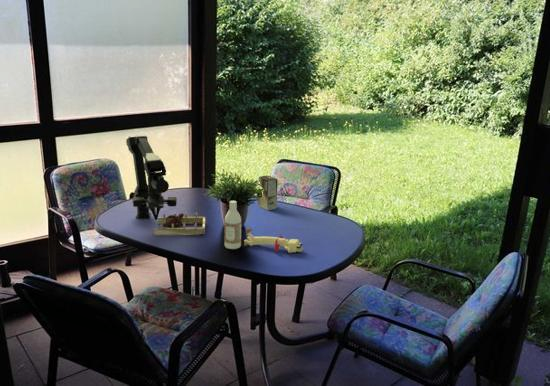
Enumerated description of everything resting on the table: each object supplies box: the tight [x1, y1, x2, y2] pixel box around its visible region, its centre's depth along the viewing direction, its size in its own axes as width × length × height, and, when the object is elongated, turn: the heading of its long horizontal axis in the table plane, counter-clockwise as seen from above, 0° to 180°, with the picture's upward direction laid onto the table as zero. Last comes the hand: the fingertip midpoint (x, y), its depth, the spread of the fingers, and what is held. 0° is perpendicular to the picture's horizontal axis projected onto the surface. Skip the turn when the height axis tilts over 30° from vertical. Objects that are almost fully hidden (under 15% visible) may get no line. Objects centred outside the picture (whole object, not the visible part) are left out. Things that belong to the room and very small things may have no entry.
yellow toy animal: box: [243, 227, 304, 253], centre depth 206 cm, size 10×9×25 cm
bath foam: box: [224, 200, 242, 250], centre depth 204 cm, size 7×7×20 cm
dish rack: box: [153, 212, 206, 236], centre depth 224 cm, size 15×22×5 cm
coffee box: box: [257, 175, 278, 211], centre depth 255 cm, size 9×6×16 cm
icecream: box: [162, 212, 185, 228], centre depth 223 cm, size 7×7×15 cm
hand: (156, 219), depth 221 cm, fingers closed
